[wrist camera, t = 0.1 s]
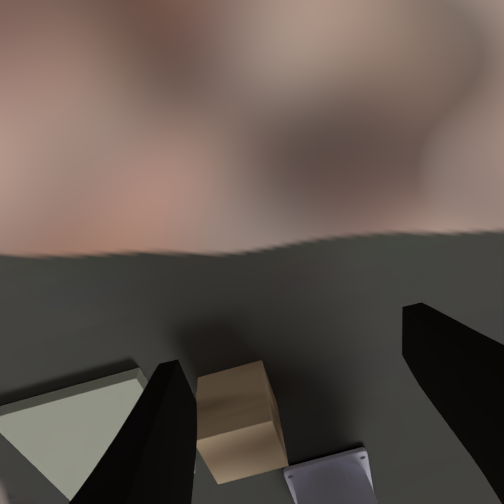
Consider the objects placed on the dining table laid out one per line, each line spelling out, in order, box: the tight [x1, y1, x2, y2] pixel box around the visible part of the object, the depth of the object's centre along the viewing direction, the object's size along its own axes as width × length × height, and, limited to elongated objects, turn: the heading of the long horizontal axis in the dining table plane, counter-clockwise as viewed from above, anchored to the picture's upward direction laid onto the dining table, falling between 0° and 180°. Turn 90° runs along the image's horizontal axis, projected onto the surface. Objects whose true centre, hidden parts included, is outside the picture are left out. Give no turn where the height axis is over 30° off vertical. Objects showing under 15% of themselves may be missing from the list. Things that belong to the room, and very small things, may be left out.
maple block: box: [196, 360, 289, 484], centre depth 22 cm, size 5×5×5 cm
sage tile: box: [0, 367, 196, 501], centre depth 25 cm, size 12×11×1 cm
